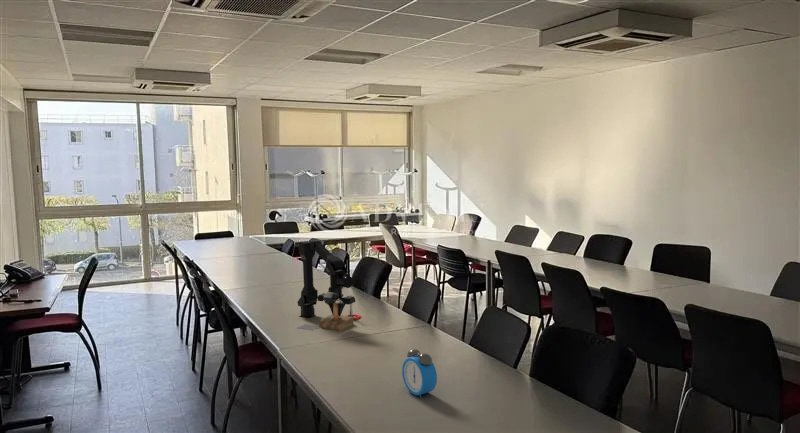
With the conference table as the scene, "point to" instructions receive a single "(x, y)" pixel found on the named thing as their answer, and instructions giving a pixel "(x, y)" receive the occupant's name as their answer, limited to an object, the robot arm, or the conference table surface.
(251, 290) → the conference table surface
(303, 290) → the robot arm
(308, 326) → the mat
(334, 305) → the peg
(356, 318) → the tow hook
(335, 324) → the socket block
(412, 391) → the alarm clock
